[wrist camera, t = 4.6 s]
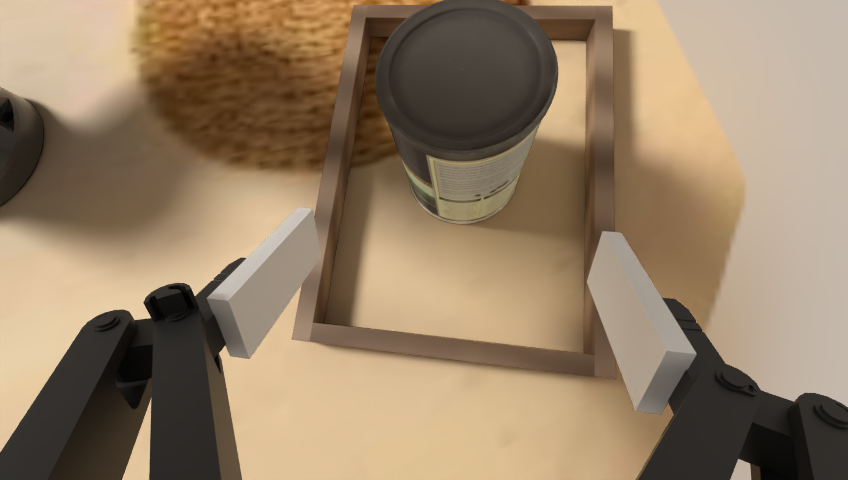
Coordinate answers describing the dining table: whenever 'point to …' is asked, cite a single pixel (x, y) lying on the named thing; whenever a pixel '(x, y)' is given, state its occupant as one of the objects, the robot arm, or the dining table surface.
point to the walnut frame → (598, 197)
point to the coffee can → (465, 102)
